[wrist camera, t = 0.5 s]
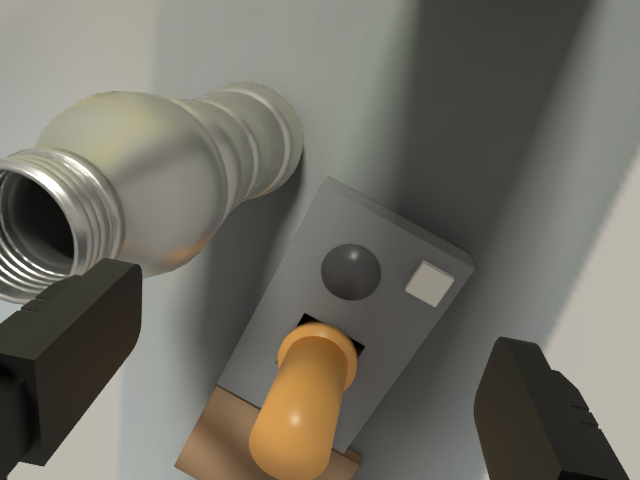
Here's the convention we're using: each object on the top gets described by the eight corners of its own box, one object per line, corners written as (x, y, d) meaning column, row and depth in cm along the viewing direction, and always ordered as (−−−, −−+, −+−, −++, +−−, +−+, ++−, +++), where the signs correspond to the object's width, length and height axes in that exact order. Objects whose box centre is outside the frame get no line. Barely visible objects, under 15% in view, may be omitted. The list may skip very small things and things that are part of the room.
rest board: (221, 378, 36) (216, 386, 36) (361, 455, 36) (360, 465, 36) (179, 457, 40) (173, 466, 39) (308, 528, 40) (305, 539, 39)
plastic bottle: (328, 163, 30) (192, 310, 11) (234, 203, 32) (-14, 385, 13) (283, 61, 29) (42, 37, 10) (188, 110, 30) (-164, 166, 12)
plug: (310, 289, 33) (264, 387, 23) (375, 325, 33) (359, 439, 23) (278, 344, 35) (223, 458, 24) (340, 378, 35) (311, 506, 24)
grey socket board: (328, 175, 30) (320, 186, 27) (470, 254, 30) (476, 273, 27) (228, 363, 36) (213, 388, 33) (347, 429, 36) (342, 460, 33)
